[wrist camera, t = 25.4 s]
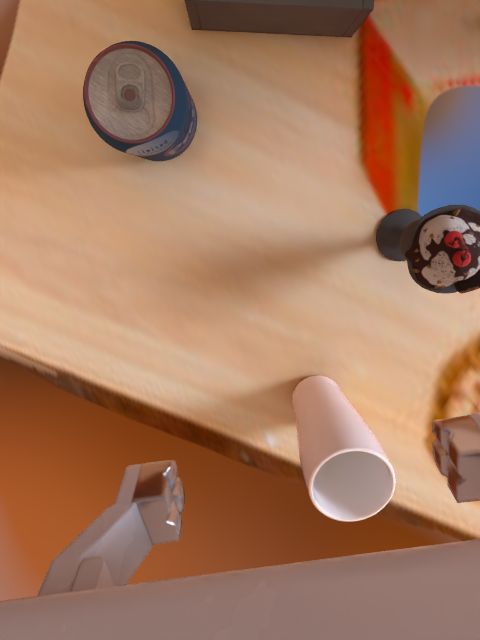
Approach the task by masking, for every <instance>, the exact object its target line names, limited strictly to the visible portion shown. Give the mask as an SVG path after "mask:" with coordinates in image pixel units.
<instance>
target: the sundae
mask: <svg viewBox="0 0 480 640" xmlns="http://www.w3.org/2000/svg"><path fill="white" fill-rule="evenodd" d="M376 241H377V245H378V248H379V250H380V251H381V253H382V254H383V255H384V256H385V257H387V258H389V259H391V260H394V261H405V260H407V263H408V268H409V272H410V275H411V277H412V278H413V280H414V281H415V282H416V283H417V284H419V285H420V286H421V287H423V288H425V289H427V290H430V291H433V292H436V293H454V292H457V291H458V292H460V293H466V292H470V291H473V290H476V289H478V288H480V211H478V210H477V209H475V208H472V207H469V206H466V205H449V206H445V207H441V208H438V209H436V210H433V211H431V212H429V213H428V214H426V215H424V216H423V217H421V216H420V215H419V214H418V213H417V212H415V211H412V210H408V209H402V210H397V211H394V212H392V213H390V214H389V215H388V216H386V217H385V218H384V219H383V220H382V222H381V224H380V225H379V228H378V230H377V236H376Z"/></svg>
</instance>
